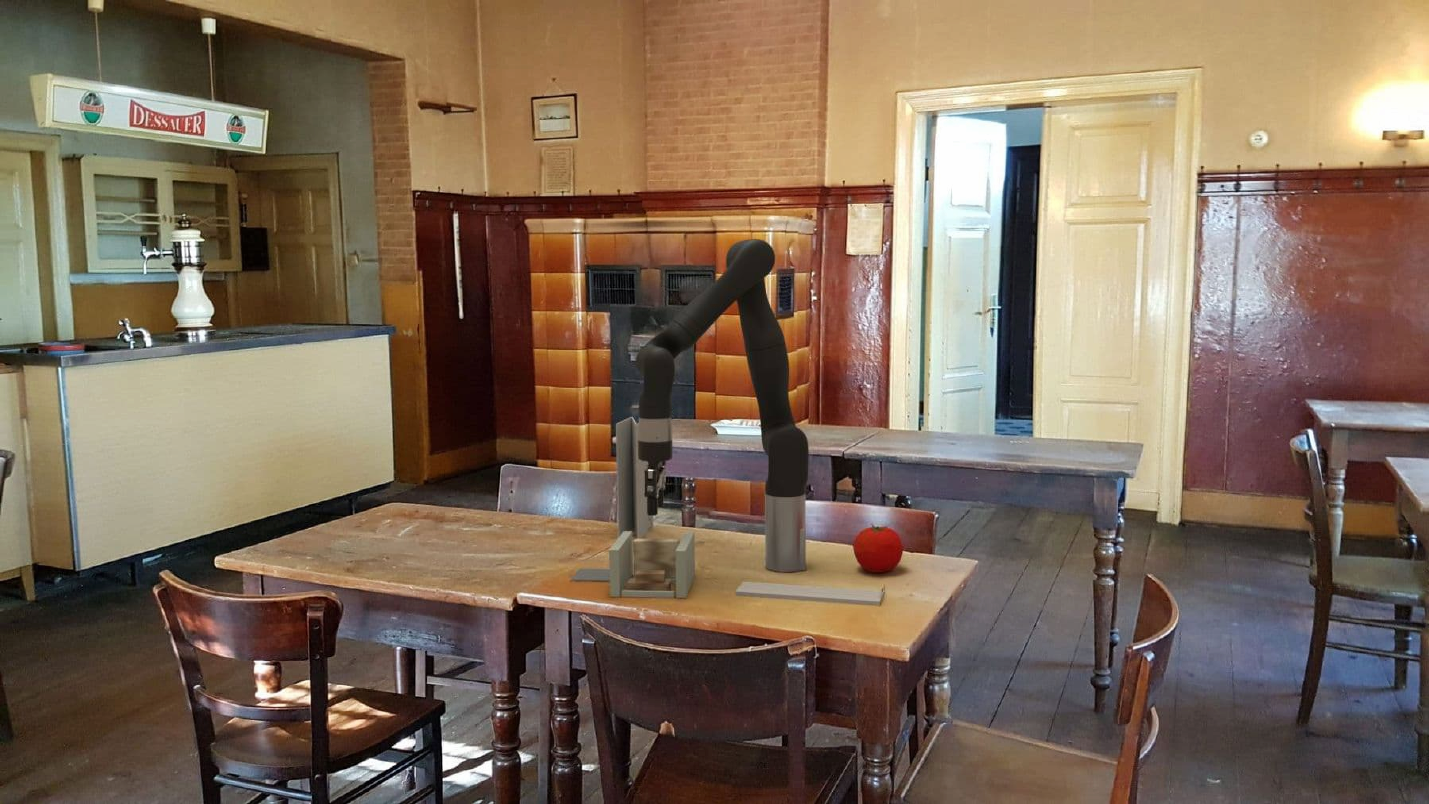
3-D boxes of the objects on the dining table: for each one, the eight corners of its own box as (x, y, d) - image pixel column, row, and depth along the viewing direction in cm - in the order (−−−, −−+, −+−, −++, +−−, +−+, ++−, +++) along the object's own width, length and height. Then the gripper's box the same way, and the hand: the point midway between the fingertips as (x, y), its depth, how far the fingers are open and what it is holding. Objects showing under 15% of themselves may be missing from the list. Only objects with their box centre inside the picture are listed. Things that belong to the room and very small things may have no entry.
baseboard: (746, 584, 227) (735, 598, 218) (746, 572, 227) (735, 585, 217) (885, 594, 219) (880, 608, 210) (885, 581, 219) (880, 595, 209)
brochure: (638, 540, 265) (636, 424, 261) (618, 539, 266) (615, 424, 262) (653, 528, 279) (651, 417, 275) (633, 527, 280) (631, 416, 276)
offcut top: (664, 579, 220) (664, 570, 220) (664, 583, 217) (664, 574, 217) (636, 579, 220) (636, 570, 220) (635, 583, 218) (635, 574, 217)
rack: (694, 575, 232) (694, 532, 231) (685, 598, 216) (685, 551, 215) (624, 574, 234) (623, 531, 233) (610, 596, 217) (609, 549, 216)
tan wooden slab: (680, 578, 230) (679, 539, 229) (678, 582, 228) (678, 542, 227) (635, 578, 231) (635, 538, 230) (633, 581, 229) (633, 541, 228)
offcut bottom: (671, 593, 220) (671, 580, 220) (668, 598, 217) (668, 584, 217) (629, 592, 221) (629, 579, 221) (626, 596, 218) (626, 583, 218)
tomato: (910, 566, 238) (911, 522, 237) (891, 580, 227) (892, 534, 226) (864, 560, 244) (865, 517, 243) (844, 573, 233) (844, 529, 232)
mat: (622, 571, 237) (622, 569, 237) (614, 582, 228) (614, 580, 228) (579, 570, 238) (579, 568, 238) (570, 581, 229) (570, 579, 229)
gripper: (667, 443, 219) (667, 518, 220) (676, 433, 233) (676, 504, 234) (632, 442, 219) (632, 517, 221) (643, 433, 233) (644, 504, 235)
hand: (655, 511), depth 228 cm, fingers open, 8 cm apart
